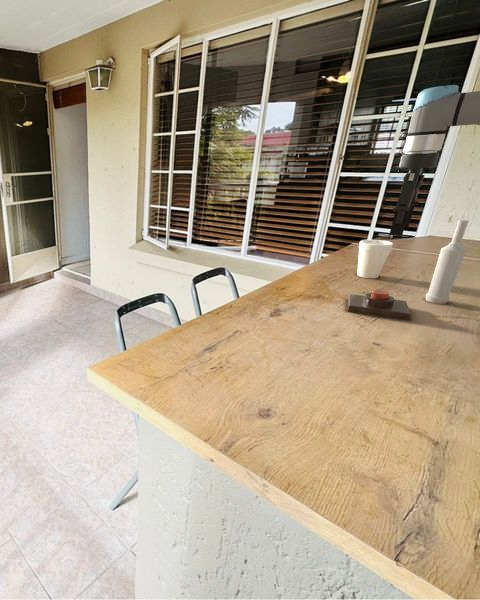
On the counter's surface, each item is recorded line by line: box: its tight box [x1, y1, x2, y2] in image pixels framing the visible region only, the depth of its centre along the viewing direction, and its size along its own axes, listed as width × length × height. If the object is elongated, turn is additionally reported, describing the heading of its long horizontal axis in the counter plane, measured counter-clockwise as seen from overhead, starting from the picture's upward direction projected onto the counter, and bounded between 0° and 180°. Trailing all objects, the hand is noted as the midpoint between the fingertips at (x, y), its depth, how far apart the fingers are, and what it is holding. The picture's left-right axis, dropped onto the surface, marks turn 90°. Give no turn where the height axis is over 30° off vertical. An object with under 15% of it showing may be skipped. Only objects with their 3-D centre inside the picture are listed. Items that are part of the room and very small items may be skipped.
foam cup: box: [356, 239, 394, 279], centre depth 131 cm, size 10×9×13 cm
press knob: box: [370, 289, 390, 300], centre depth 105 cm, size 4×4×2 cm
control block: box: [347, 292, 412, 321], centre depth 106 cm, size 14×11×4 cm
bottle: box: [425, 219, 470, 305], centre depth 105 cm, size 5×5×25 cm
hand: (399, 231), depth 102 cm, fingers open, 13 cm apart
